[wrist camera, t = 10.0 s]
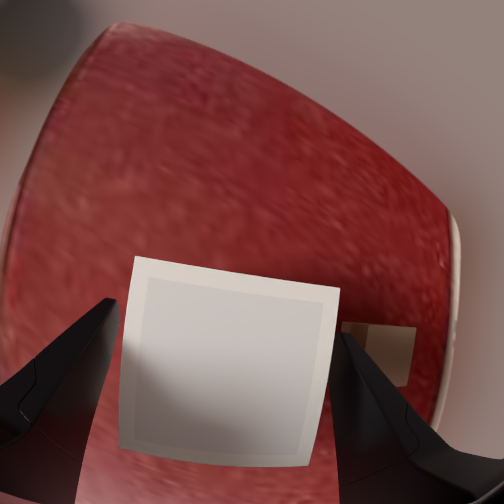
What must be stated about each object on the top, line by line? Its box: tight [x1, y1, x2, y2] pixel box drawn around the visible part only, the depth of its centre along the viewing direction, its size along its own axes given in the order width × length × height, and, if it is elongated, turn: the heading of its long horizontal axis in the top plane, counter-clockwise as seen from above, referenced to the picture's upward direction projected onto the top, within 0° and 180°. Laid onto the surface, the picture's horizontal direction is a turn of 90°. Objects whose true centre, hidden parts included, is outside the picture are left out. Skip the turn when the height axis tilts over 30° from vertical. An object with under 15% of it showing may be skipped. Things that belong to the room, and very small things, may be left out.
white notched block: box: [118, 256, 340, 467], centre depth 12 cm, size 6×6×10 cm
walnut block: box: [341, 321, 416, 387], centre depth 16 cm, size 4×4×4 cm
